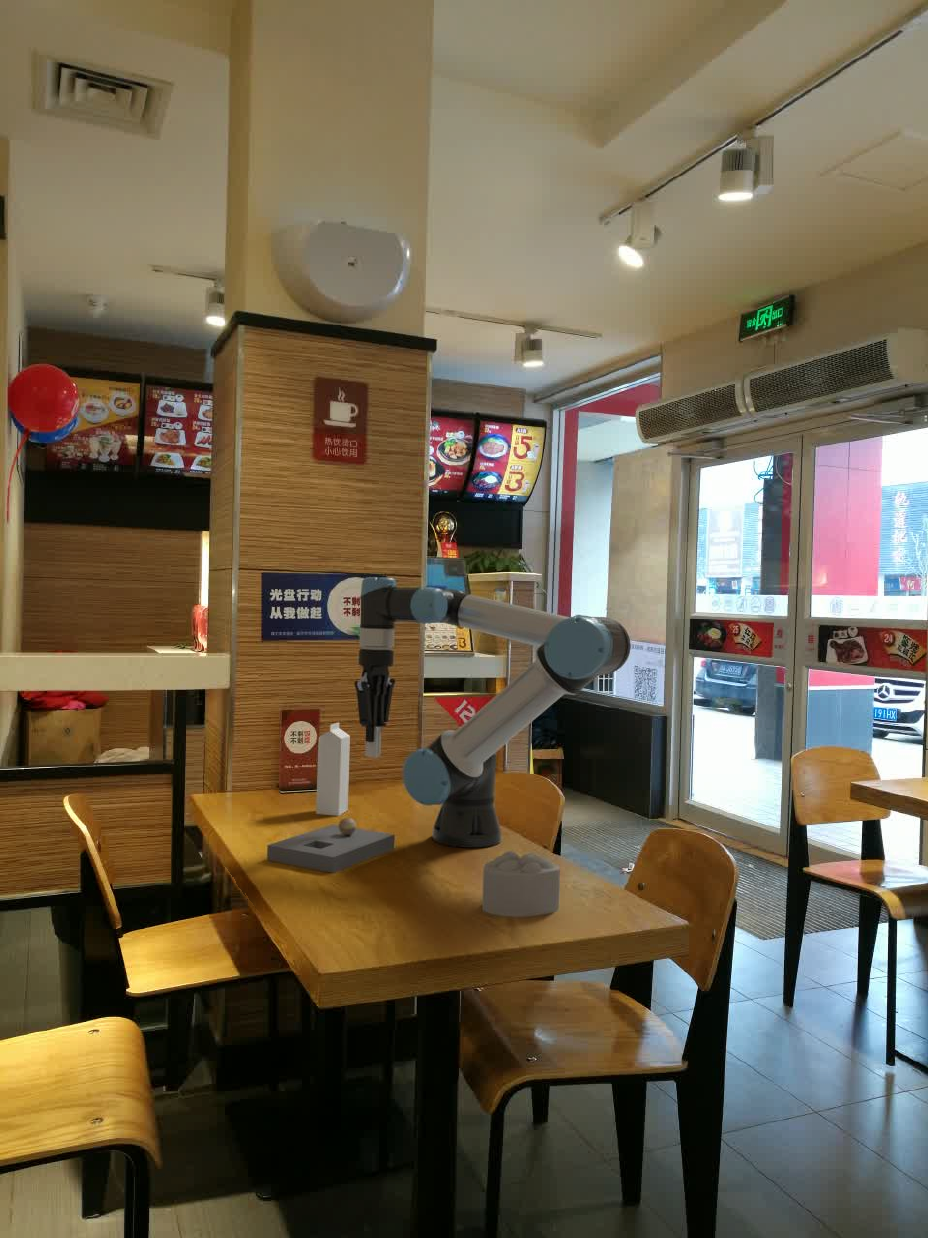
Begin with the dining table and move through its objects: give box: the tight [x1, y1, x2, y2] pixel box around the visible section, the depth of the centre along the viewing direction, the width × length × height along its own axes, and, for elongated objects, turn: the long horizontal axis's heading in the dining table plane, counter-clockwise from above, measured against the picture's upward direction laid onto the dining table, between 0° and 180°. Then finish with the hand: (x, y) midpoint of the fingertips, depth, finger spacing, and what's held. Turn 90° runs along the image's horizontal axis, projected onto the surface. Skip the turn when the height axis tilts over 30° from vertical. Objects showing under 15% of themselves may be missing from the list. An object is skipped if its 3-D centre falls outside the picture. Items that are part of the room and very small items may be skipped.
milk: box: [315, 722, 351, 817], centre depth 230 cm, size 6×6×22 cm
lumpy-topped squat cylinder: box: [481, 850, 561, 918], centre depth 161 cm, size 10×13×9 cm
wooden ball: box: [338, 817, 357, 835], centre depth 196 cm, size 4×4×4 cm
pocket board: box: [266, 824, 396, 874], centre depth 191 cm, size 16×22×3 cm
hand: (372, 756), depth 204 cm, fingers closed
